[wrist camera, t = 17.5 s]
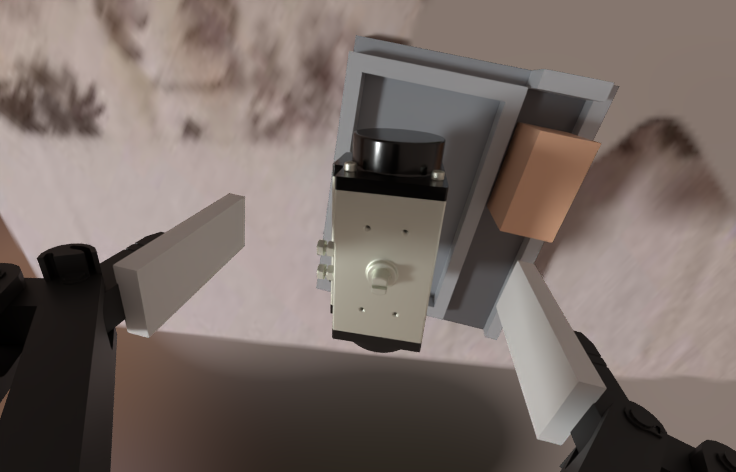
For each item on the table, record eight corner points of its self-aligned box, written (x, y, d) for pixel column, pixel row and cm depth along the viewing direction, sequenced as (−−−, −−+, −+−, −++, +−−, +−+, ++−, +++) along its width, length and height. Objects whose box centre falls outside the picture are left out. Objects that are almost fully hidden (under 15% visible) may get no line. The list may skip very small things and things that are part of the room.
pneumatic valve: (441, 121, 22) (458, 156, 11) (418, 269, 27) (416, 389, 16) (361, 115, 23) (305, 142, 12) (353, 260, 28) (310, 371, 17)
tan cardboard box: (518, 121, 21) (540, 130, 17) (567, 132, 21) (601, 143, 17) (486, 205, 24) (499, 230, 20) (530, 215, 24) (552, 242, 20)
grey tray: (359, 37, 22) (348, 29, 19) (600, 86, 21) (633, 86, 18) (323, 281, 31) (311, 304, 27) (491, 323, 30) (500, 352, 26)
